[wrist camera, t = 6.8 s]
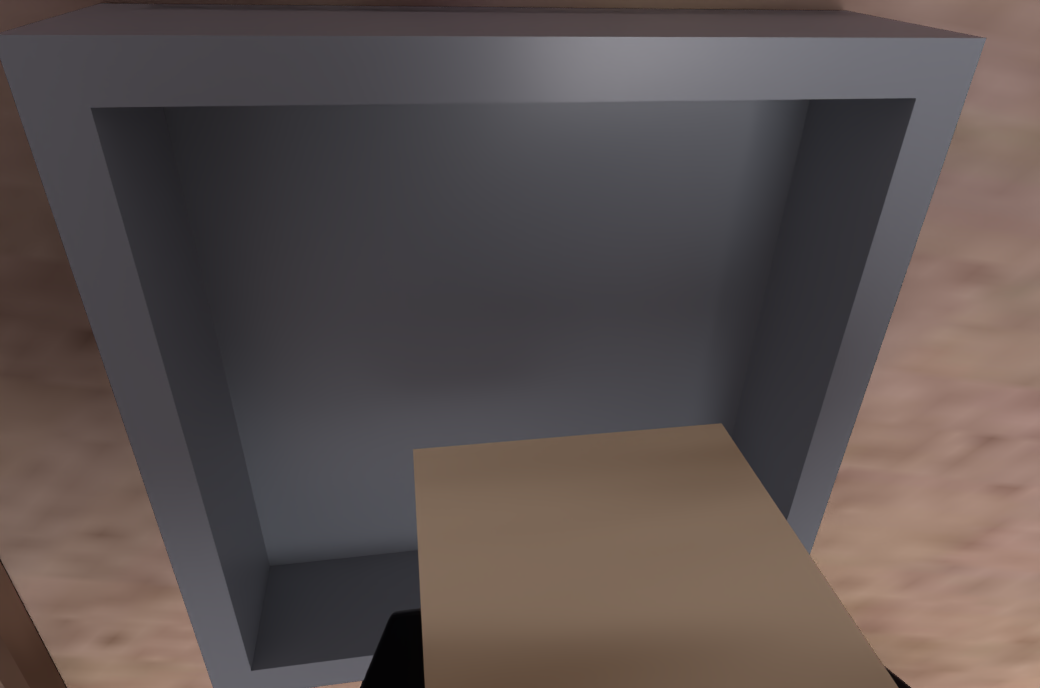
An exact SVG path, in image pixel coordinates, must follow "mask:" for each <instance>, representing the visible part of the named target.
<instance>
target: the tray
mask: <svg viewBox="0 0 1040 688" xmlns="http://www.w3.org/2000/svg"><path fill="white" fill-rule="evenodd" d="M985 40H986V38H983V37H978V36H973V35H968V34H963V33H958V32H953V31H948V30H943V29H937V28H932V27H927V26H922V25H917V24H912V23H907V22H902V21H897V20H892V19H887V18H881V17H876V16H871V15H866V14H861V13H856V12H851V11H837V10H733V9H629V8H525V7H422V6H318V5H214V4H111V3H100V4H96V5H93V6H89V7H86V8H82V9H79V10H76V11H72V12H69V13H65V14H62V15H59V16H55V17H52V18H48V19H45V20H41V21H38V22H35V23H31V24H28V25H24V26H21V27H17V28H14V29H11V30H7V31H4V32H0V59H1V62H2V65H3V68H4V71H5V74H6V77H7V80H8V83H9V86H10V89H11V92H12V95H13V98H14V101H15V104H16V107H17V110H18V113H19V116H20V119H21V122H22V124H23V127H24V130H25V133H26V136H27V139H28V142H29V145H30V148H31V151H32V154H33V157H34V160H35V163H36V166H37V169H38V172H39V175H40V178H41V181H42V184H43V187H44V189H45V192H46V195H47V198H48V201H49V204H50V207H51V210H52V213H53V216H54V219H55V222H56V225H57V228H58V231H59V234H60V237H61V240H62V243H63V246H64V249H65V252H66V254H67V257H68V260H69V263H70V266H71V269H72V272H73V275H74V278H75V281H76V284H77V287H78V290H79V293H80V296H81V299H82V302H83V305H84V308H85V311H86V314H87V316H88V319H89V322H90V325H91V328H92V331H93V334H94V337H95V340H96V343H97V346H98V349H99V352H100V355H101V358H102V361H103V364H104V367H105V370H106V373H107V376H108V379H109V381H110V384H111V387H112V390H113V393H114V396H115V399H116V402H117V405H118V408H119V411H120V414H121V417H122V420H123V423H124V426H125V429H126V432H127V435H128V438H129V441H130V444H131V446H132V449H133V452H134V455H135V458H136V461H137V464H138V467H139V470H140V473H141V476H142V479H143V482H144V485H145V488H146V491H147V494H148V497H149V500H150V503H151V506H152V509H153V511H154V514H155V517H156V520H157V523H158V526H159V529H160V532H161V535H162V538H163V541H164V544H165V547H166V550H167V553H168V556H169V559H170V562H171V565H172V568H173V571H174V574H175V576H176V579H177V582H178V585H179V588H180V591H181V594H182V597H183V600H184V603H185V606H186V609H187V612H188V615H189V618H190V621H191V624H192V627H193V630H194V633H195V636H196V639H197V641H198V644H199V647H200V650H201V653H202V656H203V659H204V662H205V665H206V668H207V671H208V674H209V677H210V680H211V683H212V686H213V688H311V687H319V686H326V685H333V684H341V683H348V682H356V681H363V680H364V677H365V675H366V672H367V670H368V667H369V665H370V663H371V660H372V658H373V655H374V653H375V650H376V648H377V645H378V643H379V641H380V638H381V636H382V633H383V631H384V628H385V626H386V624H387V621H388V619H389V617H390V615H391V614H392V613H393V612H395V611H398V610H407V609H415V608H421V599H420V579H419V559H418V539H417V520H416V500H415V480H414V460H413V449H423V448H435V447H447V446H459V445H470V444H482V443H494V442H506V441H518V440H530V439H541V438H553V437H565V436H577V435H589V434H601V433H612V432H624V431H636V430H648V429H660V428H672V427H683V426H695V425H707V424H719V423H722V425H723V426H724V428H725V429H726V431H727V432H728V434H729V435H730V437H731V438H732V440H733V441H734V443H735V444H736V446H737V447H738V449H739V450H740V452H741V453H742V455H743V456H744V458H745V459H746V461H747V462H748V464H749V465H750V467H751V468H752V470H753V471H754V473H755V474H756V476H757V477H758V479H759V480H760V482H761V483H762V485H763V486H764V487H765V489H766V490H767V492H768V493H769V495H770V496H771V498H772V499H773V501H774V502H775V504H776V505H777V507H778V508H779V510H780V511H781V513H782V514H783V516H784V517H785V519H786V520H787V522H788V523H789V525H790V526H791V528H792V529H793V531H794V532H795V534H796V535H797V537H798V538H799V540H800V541H801V543H802V544H803V546H804V547H805V549H806V550H807V552H808V553H809V555H810V552H811V549H812V547H813V544H814V541H815V538H816V535H817V532H818V529H819V526H820V523H821V520H822V517H823V514H824V511H825V509H826V506H827V503H828V500H829V497H830V494H831V491H832V488H833V485H834V482H835V479H836V476H837V473H838V470H839V468H840V465H841V462H842V459H843V456H844V453H845V450H846V447H847V444H848V441H849V438H850V435H851V432H852V429H853V427H854V424H855V421H856V418H857V415H858V412H859V409H860V406H861V403H862V400H863V397H864V394H865V391H866V388H867V386H868V383H869V380H870V377H871V374H872V371H873V368H874V365H875V362H876V359H877V356H878V353H879V350H880V347H881V345H882V342H883V339H884V336H885V333H886V330H887V327H888V324H889V321H890V318H891V315H892V312H893V309H894V307H895V304H896V301H897V298H898V295H899V292H900V289H901V286H902V283H903V280H904V277H905V274H906V271H907V268H908V266H909V263H910V260H911V257H912V254H913V251H914V248H915V245H916V242H917V239H918V236H919V233H920V230H921V227H922V225H923V222H924V219H925V216H926V213H927V210H928V207H929V204H930V201H931V198H932V195H933V192H934V189H935V186H936V184H937V181H938V178H939V175H940V172H941V169H942V166H943V163H944V160H945V157H946V154H947V151H948V148H949V146H950V143H951V140H952V137H953V134H954V131H955V128H956V125H957V122H958V119H959V116H960V113H961V110H962V107H963V105H964V102H965V99H966V96H967V93H968V90H969V87H970V84H971V81H972V78H973V75H974V72H975V69H976V66H977V64H978V61H979V58H980V55H981V52H982V49H983V46H984V43H985Z"/></svg>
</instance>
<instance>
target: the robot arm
mask: <svg viewBox="0 0 1040 688" xmlns="http://www.w3.org/2000/svg"><path fill="white" fill-rule="evenodd" d="M884 667H885V666H884ZM885 668H886V667H885ZM886 670H887V671H888V673H889V674H890V676H891V677H892V679H893V680H894V682H895V683H896V685H897V686H898V688H911V687H910V686H908V685H907V684H906V683H905V682H904V681H902V680H901V679H900V678H899V677H897V676H896V675H895V674H894V673H892V672H891V671H890V670H889V669H887V668H886ZM360 688H425V678H424V658H423V639H422V619H421V608H415V609H407V610H398V611H395V612H393V613H392V614H391V615H390V617H389V619H388V621H387V624H386V626H385V628H384V631H383V633H382V636H381V638H380V641H379V643H378V645H377V648H376V650H375V653H374V655H373V658H372V660H371V663H370V665H369V667H368V670H367V672H366V675H365V677H364V680H363V682H362V684H361V687H360Z"/></svg>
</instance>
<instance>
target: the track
mask: <svg viewBox="0 0 1040 688" xmlns="http://www.w3.org/2000/svg"><path fill="white" fill-rule="evenodd" d="M0 688H66V687H65V685H64V683H63V681H62V679H61V677H60V675H59V673H58V671H57V670H56V668H55V666H54V664H53V662H52V660H51V658H50V656H49V654H48V652H47V650H46V648H45V646H44V645H43V643H42V641H41V639H40V637H39V635H38V633H37V631H36V629H35V627H34V625H33V623H32V622H31V620H30V618H29V616H28V614H27V612H26V610H25V608H24V606H23V604H22V602H21V600H20V598H19V597H18V595H17V593H16V591H15V589H14V587H13V585H12V583H11V581H10V579H9V577H8V575H7V573H6V572H5V570H4V568H3V566H2V564H1V562H0Z"/></svg>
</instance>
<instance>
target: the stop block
mask: <svg viewBox="0 0 1040 688" xmlns="http://www.w3.org/2000/svg"><path fill="white" fill-rule="evenodd" d="M413 460H414V480H415V500H416V520H417V539H418V559H419V579H420V599H421V619H422V639H423V658H424V678H425V688H898V686H897V685H896V683H895V682H894V680H893V679H892V677H891V676H890V674H889V673H888V671H887V670H886V668H885V667H884V665H883V664H882V662H881V661H880V659H879V658H878V656H877V655H876V653H875V652H874V650H873V649H872V647H871V646H870V644H869V643H868V641H867V640H866V638H865V637H864V635H863V634H862V632H861V631H860V629H859V628H858V626H857V625H856V623H855V622H854V620H853V619H852V617H851V616H850V614H849V613H848V611H847V610H846V608H845V607H844V605H843V604H842V603H841V601H840V600H839V598H838V597H837V595H836V594H835V592H834V591H833V589H832V588H831V586H830V585H829V583H828V582H827V580H826V579H825V577H824V576H823V574H822V573H821V571H820V570H819V568H818V567H817V565H816V564H815V562H814V561H813V559H812V558H811V556H810V555H809V553H808V552H807V550H806V549H805V547H804V546H803V544H802V543H801V541H800V540H799V538H798V537H797V535H796V534H795V532H794V531H793V529H792V528H791V526H790V525H789V523H788V522H787V520H786V519H785V517H784V516H783V514H782V513H781V511H780V510H779V508H778V507H777V505H776V504H775V502H774V501H773V499H772V498H771V496H770V495H769V493H768V492H767V490H766V489H765V487H764V486H763V485H762V483H761V482H760V480H759V479H758V477H757V476H756V474H755V473H754V471H753V470H752V468H751V467H750V465H749V464H748V462H747V461H746V459H745V458H744V456H743V455H742V453H741V452H740V450H739V449H738V447H737V446H736V444H735V443H734V441H733V440H732V438H731V437H730V435H729V434H728V432H727V431H726V429H725V428H724V426H723V425H722V423H719V424H707V425H695V426H683V427H672V428H660V429H648V430H636V431H624V432H612V433H601V434H589V435H577V436H565V437H553V438H541V439H530V440H518V441H506V442H494V443H482V444H470V445H459V446H447V447H435V448H423V449H413Z"/></svg>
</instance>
